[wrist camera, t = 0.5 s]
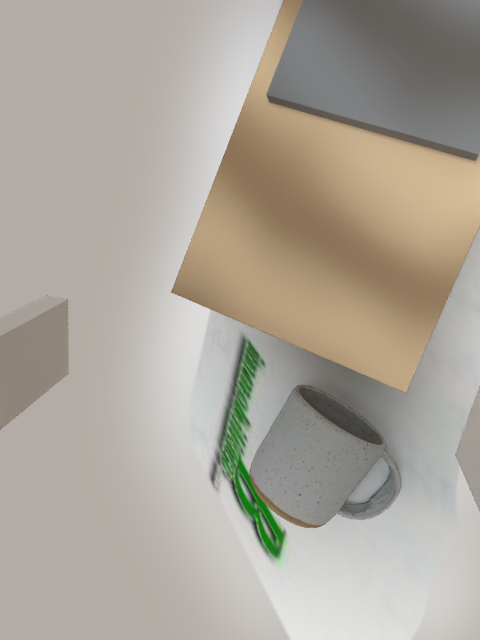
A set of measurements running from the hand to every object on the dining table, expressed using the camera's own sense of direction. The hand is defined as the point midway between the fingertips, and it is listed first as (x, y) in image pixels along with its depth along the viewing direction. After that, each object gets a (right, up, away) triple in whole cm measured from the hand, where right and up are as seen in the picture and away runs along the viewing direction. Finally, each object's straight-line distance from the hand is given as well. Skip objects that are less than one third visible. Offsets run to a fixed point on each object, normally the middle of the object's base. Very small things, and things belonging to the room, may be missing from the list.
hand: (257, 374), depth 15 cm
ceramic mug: (+7, -9, +23) cm, 26 cm away
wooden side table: (+11, +12, +22) cm, 28 cm away
